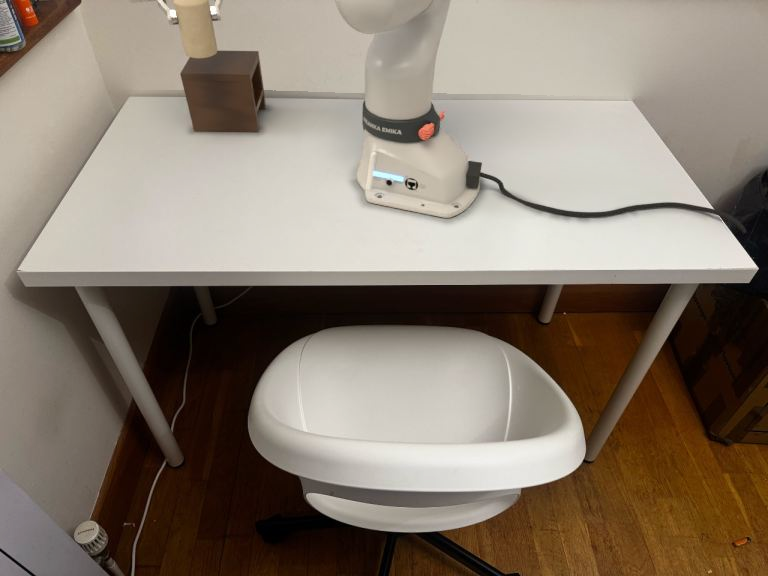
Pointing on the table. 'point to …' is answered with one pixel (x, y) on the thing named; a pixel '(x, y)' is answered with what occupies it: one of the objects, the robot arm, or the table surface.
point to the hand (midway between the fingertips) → (195, 21)
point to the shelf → (224, 91)
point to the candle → (196, 28)
